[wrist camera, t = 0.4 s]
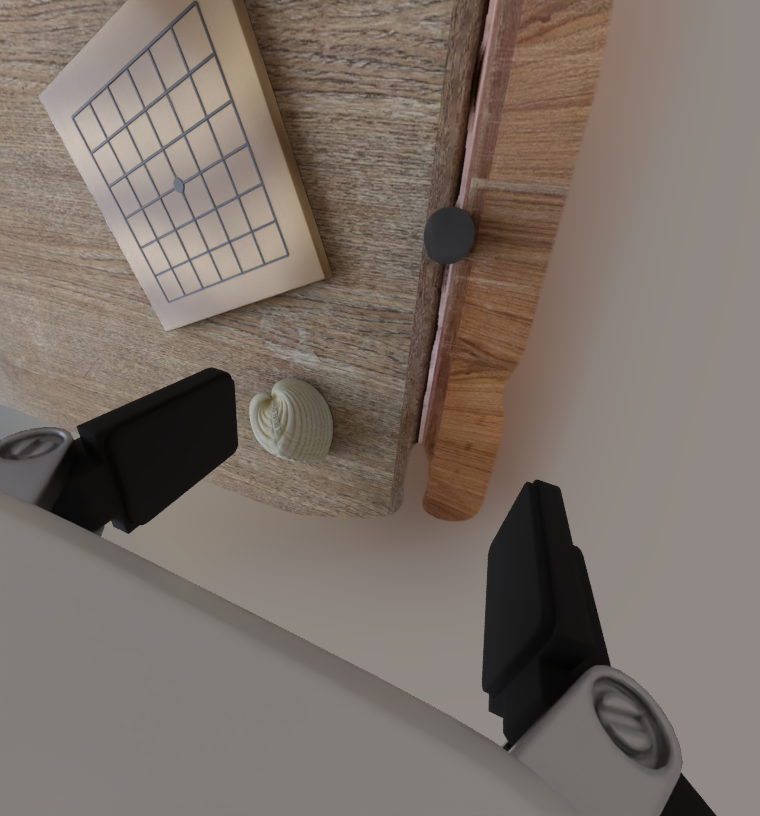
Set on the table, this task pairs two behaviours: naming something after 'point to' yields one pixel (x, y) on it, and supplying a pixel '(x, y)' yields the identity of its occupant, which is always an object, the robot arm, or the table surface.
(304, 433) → the seashell
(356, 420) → the table surface
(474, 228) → the black stone
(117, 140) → the board
